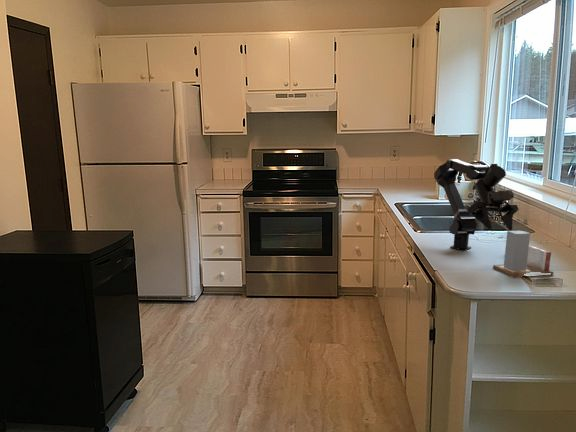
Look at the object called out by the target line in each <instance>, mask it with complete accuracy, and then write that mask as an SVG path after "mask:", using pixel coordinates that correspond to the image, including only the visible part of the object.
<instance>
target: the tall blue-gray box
mask: <svg viewBox="0 0 576 432" xmlns="http://www.w3.org/2000/svg"><path fill="white" fill-rule="evenodd" d="M530 236H531V233H530V232H528V231H523V230H511V231H509V230H507V232H506V238H505V239H506V240H505V241H506V242H505V248H504V249H505V251H504V259H503V264H504V267H505V268H507V269H509V270H511V271H518V270H526V267H527V258H528V249H529V246H530V240H531V239H530V238H531V237H530Z"/></svg>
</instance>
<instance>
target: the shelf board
mask: <svg viewBox="0 0 576 432" xmlns="http://www.w3.org/2000/svg"><path fill="white" fill-rule="evenodd" d="M551 256H552V252H551V251H548V250H546V249H544V248H543V249H542V248H540V247H536V246H533V245H529V249H528V258H527V267H526V270H518V271H511V270H509V269H507V268H505V267H504V263H502V264H493V265H492V266H493V267H492V269H494V270H497V271H498V272H501V273H503V274H505V275H507V276H510V277H511V278H513V279H514V278H515V279H516V277H518V278H522V277H521V276H523V275H524V274H526V273H530V272H541V273H551V274H553V275H554V273H555V272H554V271H553V270H550V264H551Z"/></svg>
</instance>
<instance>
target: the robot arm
mask: <svg viewBox="0 0 576 432" xmlns="http://www.w3.org/2000/svg"><path fill="white" fill-rule="evenodd" d="M459 173H462V174H464V175H465V177H466V178H467V179H469V180H470V181H476V182H474V184H473V186H472V191H476V192H477V194H478V196H479V198H477V201H474V202H473V204H471V205H470V206H469V207H468V208H467V209H466V207H465V204H464V201H463V200H462V197H461V195H460V192H459V189H458V187H457V185H456V180H457V176H458V175H459ZM506 175H507V172H506V170H505V169H504V168H503V167H501V166H499V165H498V163H491V164H490V165H489V166H488V165H487V164H485V165H484V164H471V163H468V162H465V161H462V160H460V159H457V158H453V159H452V158H450V159H447V161H446V162H445V163H443V164H441V165H439V166H438V168H436V169H435V171H434V174H433V176H434V179H435V182H436V183H437V185H438V186H440V187H442V188H443V190H444V192H445V195H446V198H447V200H448V202H449V205H450V207H451V210H452V212H453V219H452V222H453V223H451V225H450V226H449V229H448V230H449V233H450V234H452V235H454V236H453V245H451V246H449V247H450V249H456V250H460V251H467V250H470V249H472V246H470V245H469V239H470V235H475V232H476V229H477V226H478V223H477V220H478V221H479V222H480V223H482V224H483V225H484V226H485V227H486V228H487V229H488V230H491V229H493V227H492V224H491V223H492V222H491V220H490V217H489V213H498V215H499V216H500V220H501V221H502V223H503V224H504V225H505V227H506V228H507V230H508V231H513V217H514V215H515V214H516V213H517V212H518V211H519V210H520V209H519V207H518V205H517V204H515V203H506V204H505V202H507V201H512V199H513V198H515V197H514V196H515V195H514V192H513V191H512V190H511V189H507V190H498V191H495V189H494V187H496V186H498V184H500V182H501V181H502V180H503V179H504V178H505V177H506ZM504 204H505V205H504ZM502 205H504V206H502Z"/></svg>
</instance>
